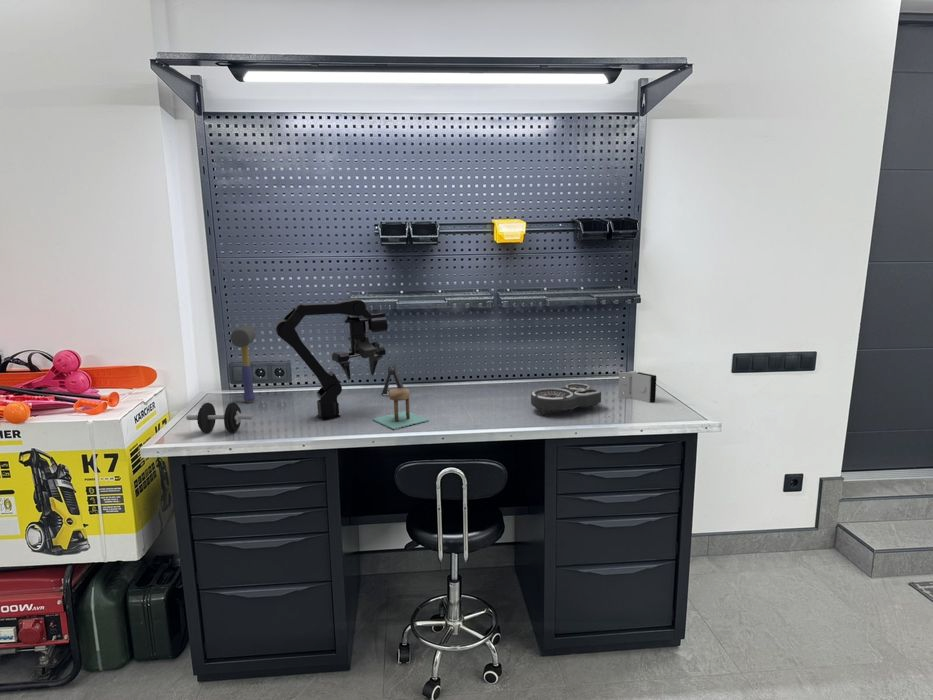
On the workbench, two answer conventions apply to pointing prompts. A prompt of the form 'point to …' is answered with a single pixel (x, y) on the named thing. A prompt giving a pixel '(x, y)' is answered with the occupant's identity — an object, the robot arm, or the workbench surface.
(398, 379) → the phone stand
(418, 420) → the rubber mat
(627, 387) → the hinge
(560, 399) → the motorcycle dashboard
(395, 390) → the walnut stool
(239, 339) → the rubber mallet
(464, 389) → the workbench surface
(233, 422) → the dumbbell
